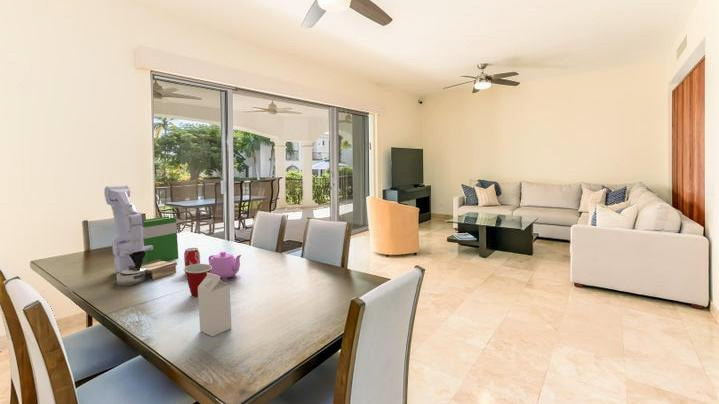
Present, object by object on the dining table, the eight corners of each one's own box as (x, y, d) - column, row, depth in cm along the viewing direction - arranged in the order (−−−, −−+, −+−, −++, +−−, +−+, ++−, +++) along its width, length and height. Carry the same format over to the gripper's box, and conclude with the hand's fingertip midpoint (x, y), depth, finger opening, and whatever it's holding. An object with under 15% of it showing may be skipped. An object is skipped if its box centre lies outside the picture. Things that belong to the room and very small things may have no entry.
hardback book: (170, 256, 207) (168, 216, 205) (178, 258, 204) (175, 217, 201) (139, 263, 192) (136, 220, 189) (147, 265, 188) (144, 221, 186)
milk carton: (219, 323, 121) (216, 269, 119) (231, 328, 117) (229, 273, 115) (199, 331, 115) (196, 275, 113) (212, 337, 111) (209, 279, 109)
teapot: (252, 275, 172) (251, 250, 171) (232, 284, 159) (231, 257, 158) (219, 271, 179) (218, 247, 178) (197, 279, 166) (196, 254, 164)
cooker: (109, 283, 161) (108, 273, 161) (133, 276, 171) (132, 267, 170) (129, 288, 155) (128, 278, 154) (153, 280, 165) (152, 271, 164)
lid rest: (135, 276, 171) (134, 266, 171) (160, 268, 183) (159, 259, 182) (153, 279, 166) (152, 269, 165) (177, 272, 177) (177, 262, 177)
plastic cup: (201, 300, 140) (199, 271, 139) (179, 298, 143) (177, 269, 142) (219, 291, 151) (217, 264, 149) (198, 288, 154) (196, 262, 152)
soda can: (194, 275, 173) (193, 251, 171) (182, 274, 174) (180, 250, 173) (203, 270, 180) (202, 247, 178) (191, 269, 181) (190, 247, 180)
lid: (116, 272, 162) (115, 268, 161) (138, 266, 171) (138, 262, 171) (130, 275, 157) (130, 271, 157) (153, 269, 167) (152, 265, 166)
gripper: (125, 243, 156) (128, 273, 157) (156, 237, 169) (158, 264, 170) (115, 242, 159) (118, 271, 160) (146, 235, 172) (148, 262, 173)
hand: (138, 267), depth 166 cm, fingers closed
